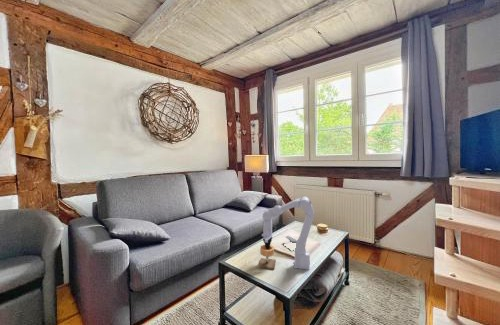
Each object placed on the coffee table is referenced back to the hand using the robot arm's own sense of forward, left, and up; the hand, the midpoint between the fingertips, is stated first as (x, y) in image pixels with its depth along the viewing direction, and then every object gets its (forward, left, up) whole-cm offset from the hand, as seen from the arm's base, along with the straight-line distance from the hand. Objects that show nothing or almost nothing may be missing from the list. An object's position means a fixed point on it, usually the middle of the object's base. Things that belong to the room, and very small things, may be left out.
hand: (267, 248), depth 140 cm
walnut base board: (0, +4, -9) cm, 10 cm away
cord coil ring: (0, +4, -1) cm, 4 cm away
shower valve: (-16, -26, -10) cm, 32 cm away
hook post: (0, +4, -8) cm, 9 cm away
